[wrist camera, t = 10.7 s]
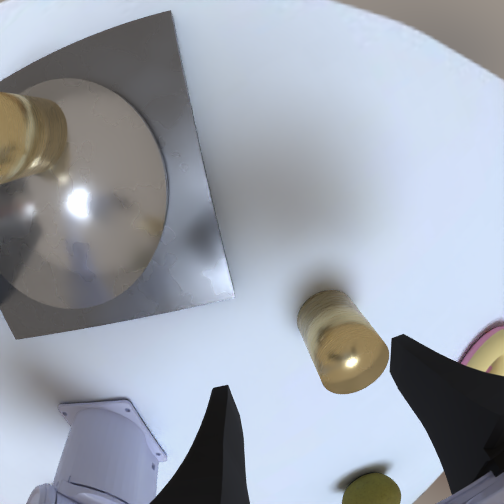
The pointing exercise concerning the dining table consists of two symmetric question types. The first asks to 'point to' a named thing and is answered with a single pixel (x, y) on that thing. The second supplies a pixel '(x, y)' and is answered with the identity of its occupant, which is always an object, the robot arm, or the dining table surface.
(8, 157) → the cylinder
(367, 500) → the apple
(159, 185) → the scale pan
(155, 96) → the scale
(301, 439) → the dining table surface
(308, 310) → the cylinder
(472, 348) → the donut
